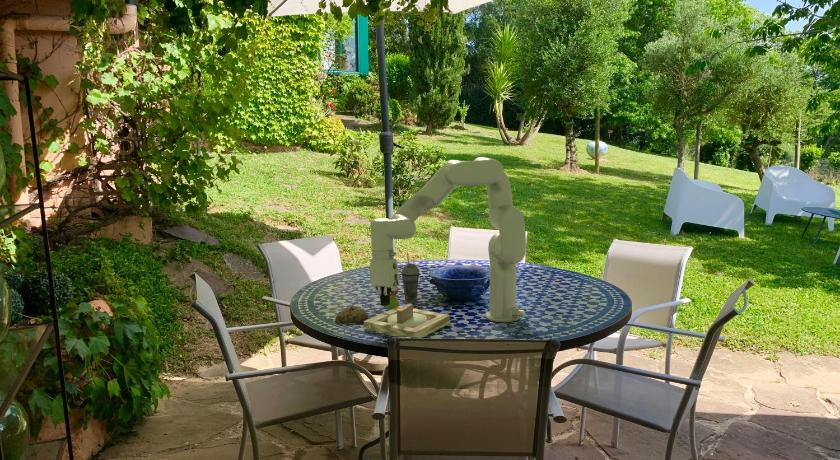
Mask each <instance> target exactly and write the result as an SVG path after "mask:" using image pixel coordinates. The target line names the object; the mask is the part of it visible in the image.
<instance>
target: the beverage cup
mask: <svg viewBox="0 0 840 460" xmlns="http://www.w3.org/2000/svg"><path fill="white" fill-rule="evenodd" d="M406 256H407V257H406V259H407V263H406V264H405V265H404V266H403V267H402V270H401V277H402V285H403V292H404V293H403V295H404V300H405V303H407V304H413V303H416V302H417V298H418V287H419V278H420V274H421V273H420V269H419V267H418V266H417V265H416V264H414V263H411V262H410V258H409V252H406Z"/></svg>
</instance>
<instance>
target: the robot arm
mask: <svg viewBox="0 0 840 460" xmlns="http://www.w3.org/2000/svg"><path fill="white" fill-rule="evenodd" d="M504 169H505V168H504V166H503V165H502V163H501V162H500V161H499V160H497V159H495V158H490V157H485V156H480V157H476V158H475V159H474V160H467V161H466V160H465V161H464V160H458V159H457V160H456V159H450V160H447V161H446V162H444V163H443V164H442V165H441V166H440V168H439V169H438V170H437V171H436V172H435V173H434V174H433V176H432V177H431V178H430V179H428V181H427V182H426V183H425V184H424V185H423V186H422V187H421V188H420V189H419V190H418V191H417V192H415V193H414V194H413V195H412V196H411V197H409V198H408V199H407V200H406V201H405V202H404V203H403V204H401V206H400V207H399V208H398V209H397V210H396V212H395V213H393V215H392V216H391V218H387V217H380V218H379V217H378V218H374V219H371V220H370V224H369V225H370V243H371V244H370V245H371V258H370V260H369V261H370V263H369V264H370V265H369V282H370V284H371V287H372V289H375V290H376V291H377V292H378V295H379V298H380V299H379V301H380V306H381V307H385V306H387V305H389V304H390V293H391V292H392V291H395V290H398V291H399V287H398V285H400V283H401V282H400V270H399V264H398V260H397V258H396V257H395V256H396V255H397V252H396V251H395V250H394V240H408V239H411V238H413V237H414V236H415V234H416V231H417V226H416V223H415V221H417V220H418V218H419V217H421V216H422V215H423V214H425V213H426V212H428V211H431V210H432V209H433V210H434V209H435V208H437V207H438V206H440V205H441V204H442V203H443V202H444V201H445V200H446V199H447V197H448V196H449V195H450V194H451V193H452V192H453V191H454V190H455V189H456V187H472V186H485V189H486V192H487V193H486V194H487V199H488V202H487V203H488V216H489V217H488V219H489V223H490V225H491V226H492V227H493V229H496V230H498V232H496V233H494V235H492V236H491V238H490V239H489V241H488V245H487V246H488V247H487V249H488V250H487V251H488V257H489V311H486V312H485V316H484V317H485V319H487V320H488V321H491V322H495V323H496V322H497V323H512V322H515V321H519V320H520V318H525V317H526V310H524V309H519V305H516V304H517V303H516V301H517V298H516V297H517V264H519V263H521V262H522V261H523V259H524V258H525V257H526V256H525V255H526V252H527V236H526V223H525V217H524V214H523V213H522V211H521V210H520V209H518V208H517V207H515V206H514V203H513V194H512V193H513V192H512V187H511V182H510V180H509V177H508V175H507V174H506V173H505V170H504Z"/></svg>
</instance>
